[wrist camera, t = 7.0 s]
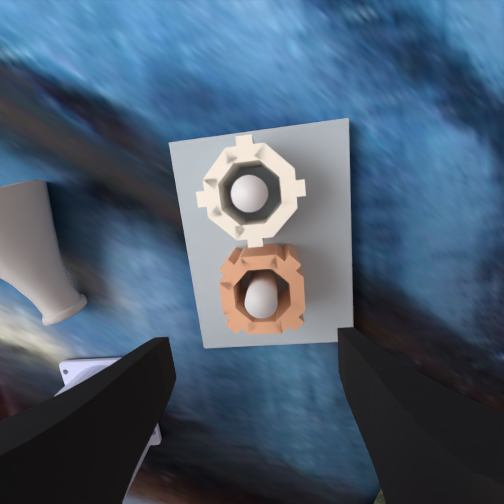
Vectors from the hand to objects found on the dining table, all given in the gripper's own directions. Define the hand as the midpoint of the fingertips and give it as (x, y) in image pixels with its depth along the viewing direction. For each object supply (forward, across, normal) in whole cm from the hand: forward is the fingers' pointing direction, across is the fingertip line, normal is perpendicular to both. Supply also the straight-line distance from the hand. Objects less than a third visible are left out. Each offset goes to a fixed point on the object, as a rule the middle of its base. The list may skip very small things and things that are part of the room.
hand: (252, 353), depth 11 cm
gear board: (+10, -1, -2) cm, 10 cm away
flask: (+6, +18, -9) cm, 21 cm away
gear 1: (+9, 0, -6) cm, 11 cm away
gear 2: (+9, 0, 0) cm, 9 cm away
